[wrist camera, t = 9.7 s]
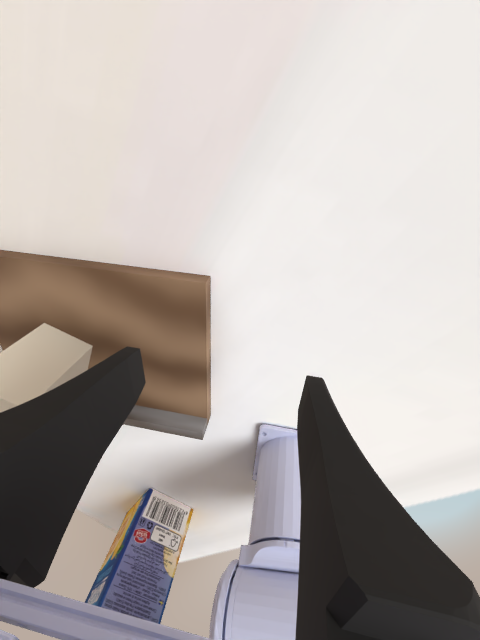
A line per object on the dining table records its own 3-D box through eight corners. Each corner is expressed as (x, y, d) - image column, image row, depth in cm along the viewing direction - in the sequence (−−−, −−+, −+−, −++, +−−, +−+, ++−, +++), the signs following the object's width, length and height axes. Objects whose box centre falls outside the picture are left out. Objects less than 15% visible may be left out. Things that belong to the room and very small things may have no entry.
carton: (44, 322, 24) (-40, 380, 18) (92, 345, 24) (26, 409, 18) (41, 358, 26) (-33, 419, 20) (85, 379, 27) (24, 444, 21)
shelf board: (210, 416, 28) (202, 441, 26) (32, 383, 30) (10, 403, 28) (210, 276, 20) (198, 293, 18) (-32, 246, 22) (-70, 257, 20)
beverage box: (126, 513, 44) (1, 778, 25) (150, 487, 38) (9, 807, 20) (165, 530, 45) (71, 799, 26) (193, 508, 39) (99, 832, 20)
